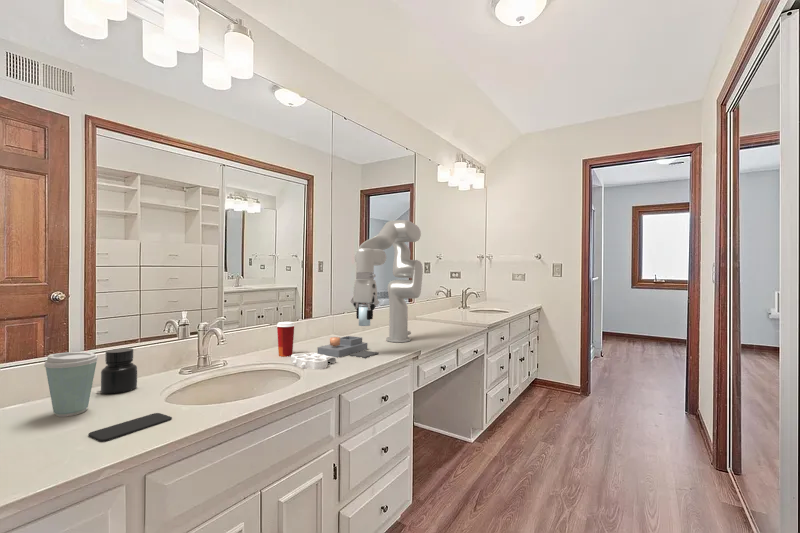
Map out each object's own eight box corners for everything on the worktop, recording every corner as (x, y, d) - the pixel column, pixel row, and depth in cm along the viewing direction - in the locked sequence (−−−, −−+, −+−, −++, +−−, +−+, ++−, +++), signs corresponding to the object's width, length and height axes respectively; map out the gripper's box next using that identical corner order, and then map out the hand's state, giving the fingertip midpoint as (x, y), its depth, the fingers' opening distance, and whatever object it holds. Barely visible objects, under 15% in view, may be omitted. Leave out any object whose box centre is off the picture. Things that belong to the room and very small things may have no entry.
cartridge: (363, 324, 170) (363, 303, 170) (372, 325, 167) (372, 304, 167) (356, 325, 165) (356, 304, 165) (365, 326, 163) (365, 305, 163)
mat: (364, 351, 173) (364, 350, 173) (378, 353, 168) (378, 352, 168) (349, 355, 164) (350, 354, 164) (365, 358, 160) (365, 356, 160)
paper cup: (297, 353, 168) (297, 321, 168) (290, 357, 161) (291, 324, 161) (280, 353, 169) (280, 321, 169) (272, 357, 161) (273, 323, 162)
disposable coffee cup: (92, 402, 106) (92, 347, 106) (103, 411, 99) (104, 353, 99) (39, 413, 97) (40, 353, 97) (47, 424, 90) (48, 360, 91)
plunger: (334, 351, 171) (334, 336, 171) (342, 352, 169) (342, 337, 169) (327, 353, 167) (327, 338, 167) (335, 354, 165) (335, 339, 165)
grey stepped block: (347, 346, 184) (347, 335, 184) (367, 349, 178) (367, 337, 178) (317, 354, 167) (317, 341, 167) (338, 357, 161) (338, 344, 161)
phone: (174, 417, 94) (102, 440, 81) (174, 421, 94) (102, 444, 81) (157, 412, 98) (86, 433, 85) (157, 415, 98) (85, 437, 85)
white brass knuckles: (341, 365, 150) (311, 373, 139) (312, 358, 161) (282, 365, 150) (341, 356, 150) (311, 363, 139) (312, 350, 161) (282, 356, 150)
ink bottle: (141, 384, 122) (142, 346, 123) (134, 392, 114) (134, 352, 114) (104, 387, 119) (105, 348, 119) (94, 396, 111) (94, 354, 111)
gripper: (386, 277, 165) (385, 319, 165) (354, 276, 174) (354, 316, 174) (375, 277, 159) (375, 321, 158) (344, 276, 168) (343, 318, 167)
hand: (364, 318), depth 166 cm, fingers closed on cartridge, 5 cm apart
